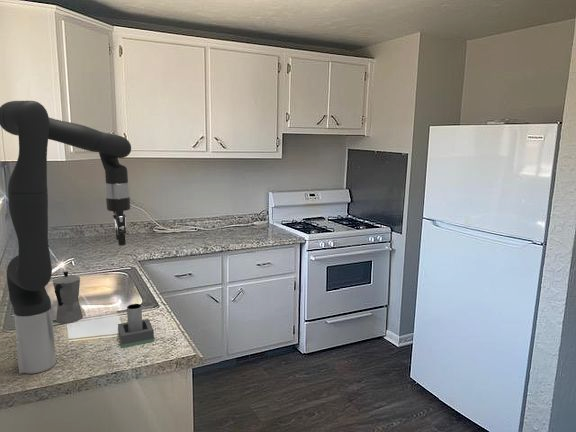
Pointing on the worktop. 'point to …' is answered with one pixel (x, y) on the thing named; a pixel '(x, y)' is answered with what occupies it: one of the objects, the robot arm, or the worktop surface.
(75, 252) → the worktop surface
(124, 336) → the socket board
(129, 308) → the dark grey cylinder
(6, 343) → the worktop surface
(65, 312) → the coffeepot
